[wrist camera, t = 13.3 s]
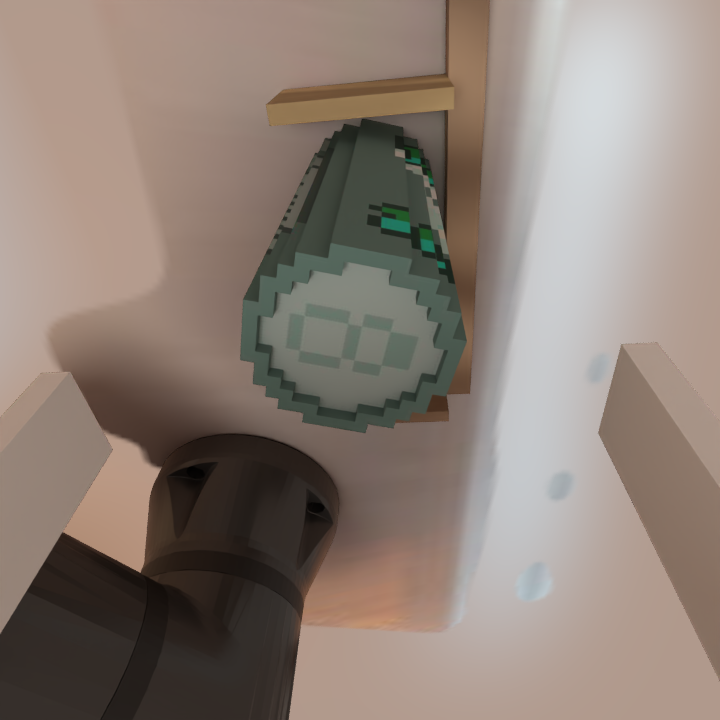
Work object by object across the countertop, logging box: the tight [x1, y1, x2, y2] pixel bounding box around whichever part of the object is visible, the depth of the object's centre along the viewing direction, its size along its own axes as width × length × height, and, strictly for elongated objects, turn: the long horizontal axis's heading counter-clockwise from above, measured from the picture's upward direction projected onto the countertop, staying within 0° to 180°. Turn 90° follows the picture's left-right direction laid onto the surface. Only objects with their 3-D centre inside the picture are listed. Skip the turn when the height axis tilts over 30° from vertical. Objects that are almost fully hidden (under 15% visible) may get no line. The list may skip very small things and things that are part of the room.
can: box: [240, 119, 467, 433], centre depth 20 cm, size 6×6×15 cm
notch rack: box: [266, 0, 490, 423], centre depth 24 cm, size 27×9×4 cm, turn 5°
